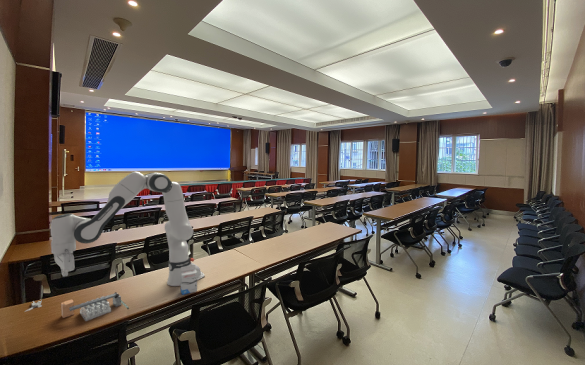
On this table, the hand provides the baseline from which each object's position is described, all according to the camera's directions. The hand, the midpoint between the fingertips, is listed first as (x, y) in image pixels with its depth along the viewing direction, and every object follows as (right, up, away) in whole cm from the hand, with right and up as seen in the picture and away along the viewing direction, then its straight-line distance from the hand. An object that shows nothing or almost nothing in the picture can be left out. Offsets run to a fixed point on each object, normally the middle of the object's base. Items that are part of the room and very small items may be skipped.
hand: (64, 275), depth 122 cm
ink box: (+50, -19, +25) cm, 59 cm away
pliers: (-20, -20, +5) cm, 29 cm away
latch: (+4, -19, -2) cm, 19 cm away
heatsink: (+16, -19, +3) cm, 25 cm away
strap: (+14, -14, +1) cm, 20 cm away
